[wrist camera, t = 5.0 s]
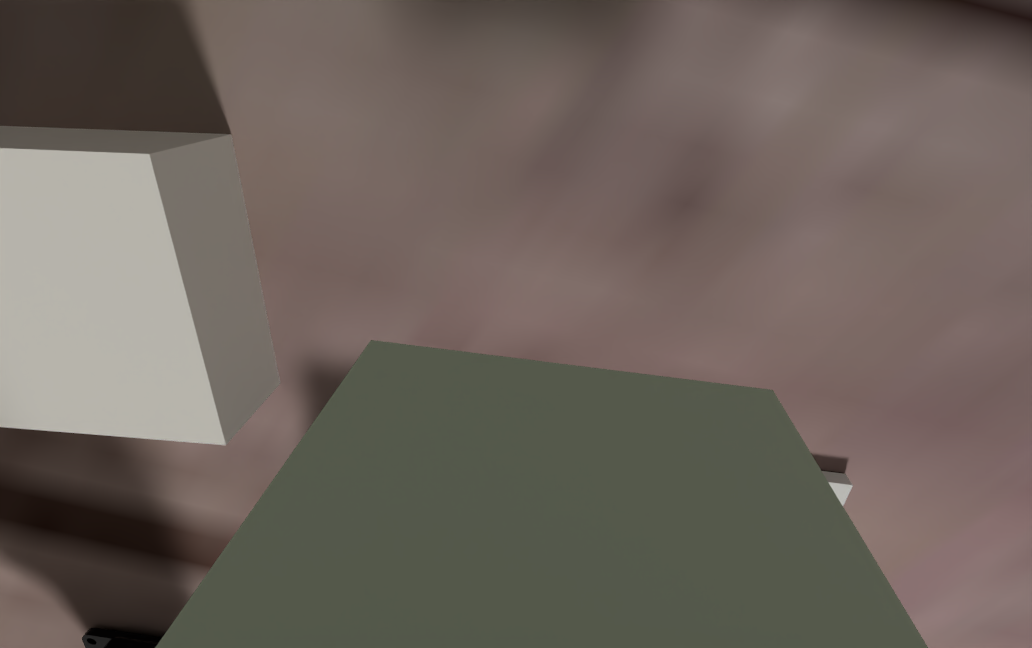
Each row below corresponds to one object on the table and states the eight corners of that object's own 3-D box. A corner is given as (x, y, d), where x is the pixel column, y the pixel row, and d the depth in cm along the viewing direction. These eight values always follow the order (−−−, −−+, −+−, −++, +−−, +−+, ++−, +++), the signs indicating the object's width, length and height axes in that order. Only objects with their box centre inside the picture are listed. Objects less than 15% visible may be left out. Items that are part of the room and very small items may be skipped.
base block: (284, 379, 21) (225, 444, 18) (65, 363, 22) (-35, 424, 18) (237, 132, 17) (149, 153, 14) (-30, 123, 18) (-179, 140, 14)
